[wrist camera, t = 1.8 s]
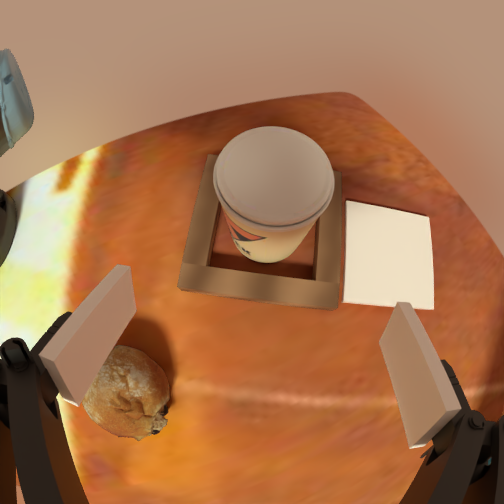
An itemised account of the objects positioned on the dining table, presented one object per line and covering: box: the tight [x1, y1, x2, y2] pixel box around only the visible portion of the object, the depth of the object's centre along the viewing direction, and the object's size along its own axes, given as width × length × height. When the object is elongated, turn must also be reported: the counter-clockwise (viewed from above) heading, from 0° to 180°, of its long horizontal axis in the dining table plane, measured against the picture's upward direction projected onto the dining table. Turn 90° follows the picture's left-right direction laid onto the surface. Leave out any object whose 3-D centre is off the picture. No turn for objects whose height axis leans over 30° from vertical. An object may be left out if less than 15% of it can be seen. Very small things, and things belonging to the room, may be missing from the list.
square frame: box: [177, 154, 342, 310], centre depth 31 cm, size 16×16×2 cm
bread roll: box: [82, 345, 170, 441], centre depth 24 cm, size 10×10×8 cm
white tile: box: [342, 200, 434, 310], centre depth 31 cm, size 12×12×1 cm
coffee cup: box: [213, 126, 334, 263], centre depth 26 cm, size 9×9×12 cm
